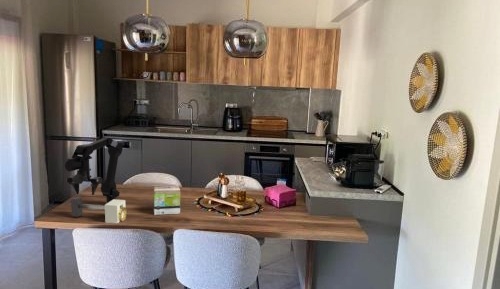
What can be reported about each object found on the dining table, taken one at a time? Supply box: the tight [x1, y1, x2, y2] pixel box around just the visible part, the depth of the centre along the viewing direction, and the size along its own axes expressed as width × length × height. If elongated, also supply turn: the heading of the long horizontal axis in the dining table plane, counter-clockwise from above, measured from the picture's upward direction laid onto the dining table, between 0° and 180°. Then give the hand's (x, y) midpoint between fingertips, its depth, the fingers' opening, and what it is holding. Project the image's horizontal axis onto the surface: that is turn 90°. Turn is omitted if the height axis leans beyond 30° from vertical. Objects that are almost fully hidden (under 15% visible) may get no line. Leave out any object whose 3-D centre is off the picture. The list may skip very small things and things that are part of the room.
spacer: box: [118, 207, 128, 222], centre depth 212 cm, size 7×1×7 cm, turn 173°
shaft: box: [70, 196, 105, 218], centre depth 214 cm, size 4×26×10 cm, turn 83°
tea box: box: [153, 185, 181, 216], centre depth 227 cm, size 15×10×15 cm
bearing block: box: [104, 198, 127, 224], centre depth 212 cm, size 10×7×10 cm
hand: (85, 194), depth 216 cm, fingers open, 9 cm apart
